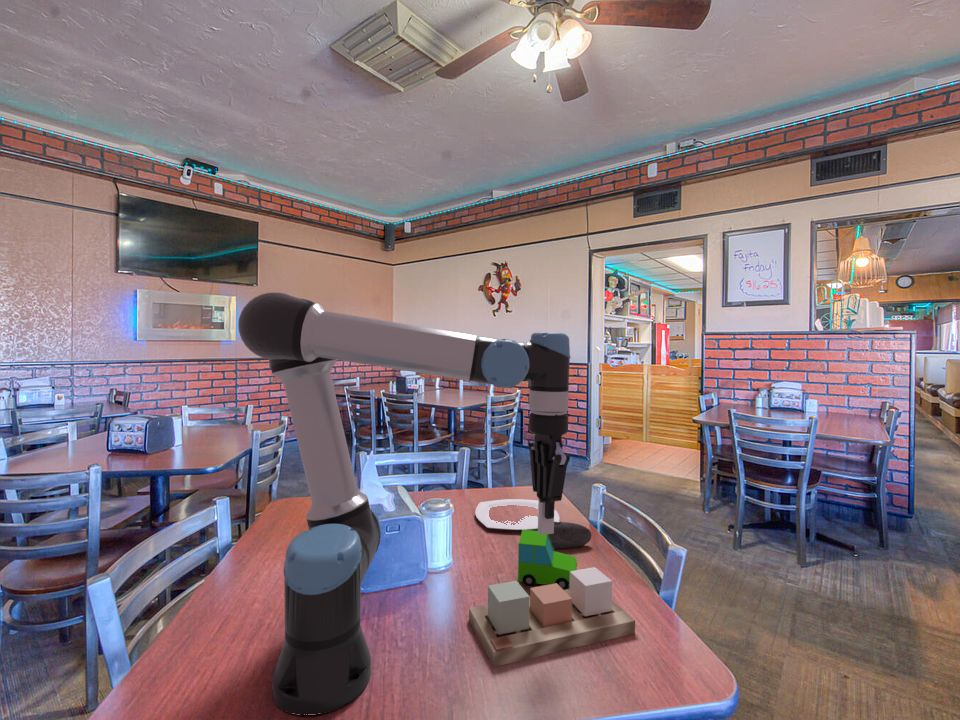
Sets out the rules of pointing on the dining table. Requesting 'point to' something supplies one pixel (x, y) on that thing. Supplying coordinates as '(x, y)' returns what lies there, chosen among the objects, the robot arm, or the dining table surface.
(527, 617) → the sage button
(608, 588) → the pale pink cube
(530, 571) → the toy car
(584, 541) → the perforated stone tool
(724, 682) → the dining table surface
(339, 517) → the robot arm
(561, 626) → the board
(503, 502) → the plate
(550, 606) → the terracotta button
